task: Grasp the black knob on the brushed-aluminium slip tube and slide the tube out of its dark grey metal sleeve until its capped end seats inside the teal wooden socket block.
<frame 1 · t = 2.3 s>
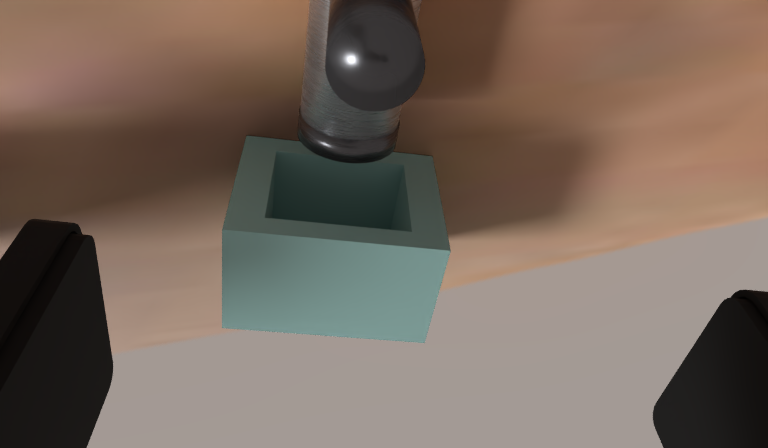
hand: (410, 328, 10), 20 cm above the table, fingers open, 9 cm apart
socket block: (335, 192, 32), on the table
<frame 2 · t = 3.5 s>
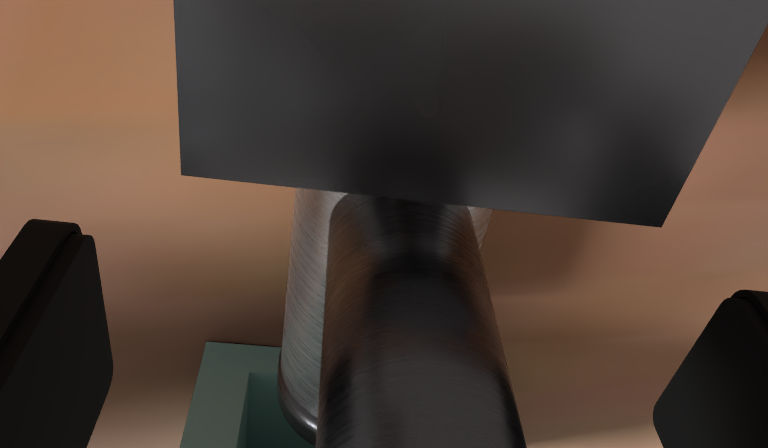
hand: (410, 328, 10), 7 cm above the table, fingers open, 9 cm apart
socket block: (337, 404, 22), on the table
slip tube: (427, 174, 9), point 6 cm above the table, slide at 0.0 cm
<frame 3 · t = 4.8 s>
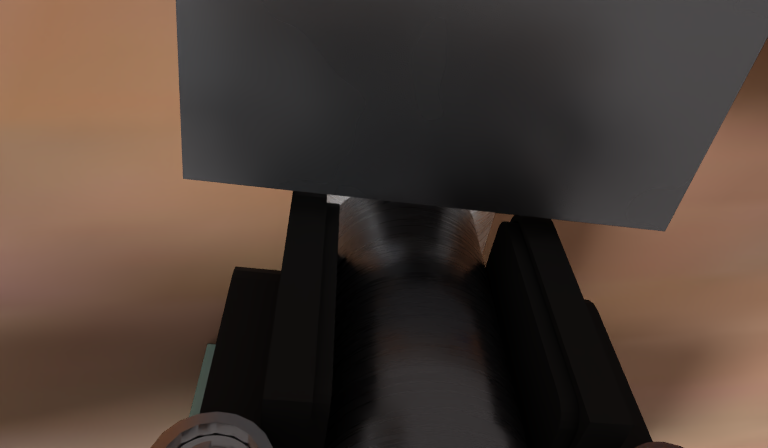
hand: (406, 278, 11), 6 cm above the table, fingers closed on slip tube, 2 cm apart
socket block: (338, 407, 22), on the table
slip tube: (430, 178, 9), point 6 cm above the table, slide at 0.0 cm, touching gripper
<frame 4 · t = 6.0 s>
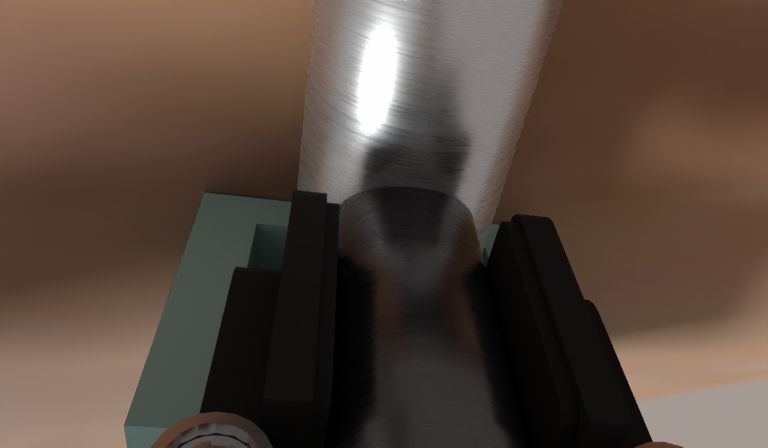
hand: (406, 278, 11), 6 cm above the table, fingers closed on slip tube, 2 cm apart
socket block: (359, 284, 19), on the table
slip tube: (430, 177, 9), point 6 cm above the table, slide at 5.9 cm, touching gripper
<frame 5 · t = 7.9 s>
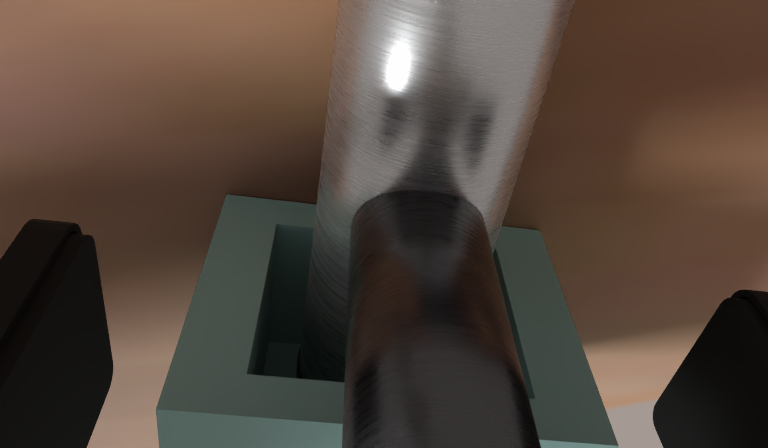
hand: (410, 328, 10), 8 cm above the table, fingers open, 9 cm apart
socket block: (373, 284, 20), on the table
slip tube: (445, 181, 10), point 6 cm above the table, slide at 6.0 cm
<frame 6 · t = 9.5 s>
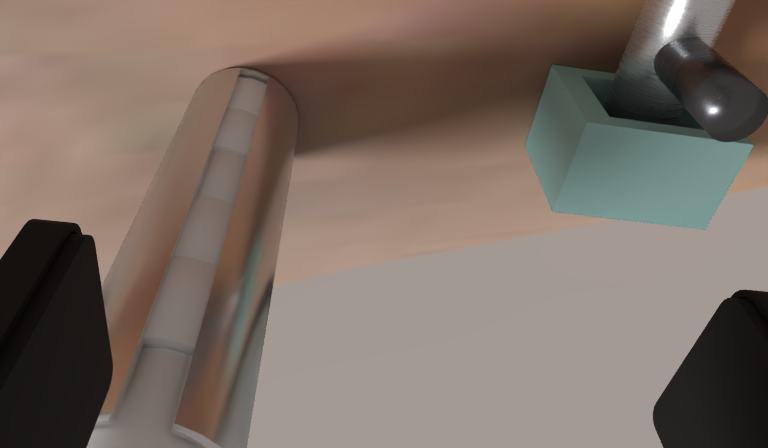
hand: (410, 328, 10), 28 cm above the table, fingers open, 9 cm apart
socket block: (607, 116, 39), on the table
slip tube: (708, 29, 30), point 6 cm above the table, slide at 6.0 cm
grey cylinder: (246, 115, 39), on the table
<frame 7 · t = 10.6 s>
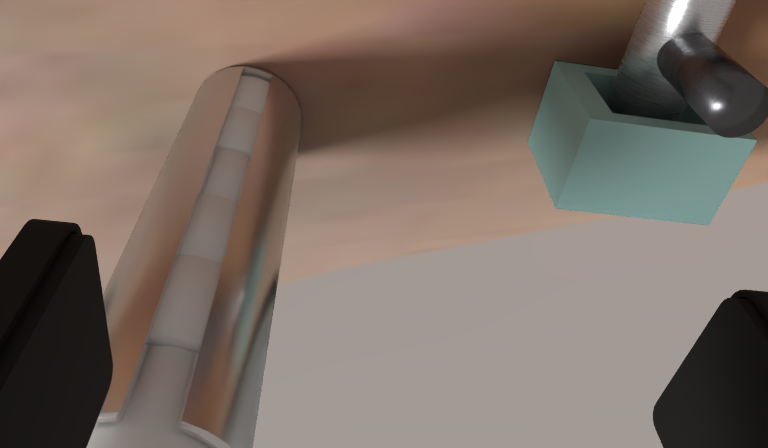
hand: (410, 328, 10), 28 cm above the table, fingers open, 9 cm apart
socket block: (610, 112, 39), on the table
slip tube: (712, 25, 30), point 6 cm above the table, slide at 6.0 cm
grey cylinder: (249, 113, 39), on the table
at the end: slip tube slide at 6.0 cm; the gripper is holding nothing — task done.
